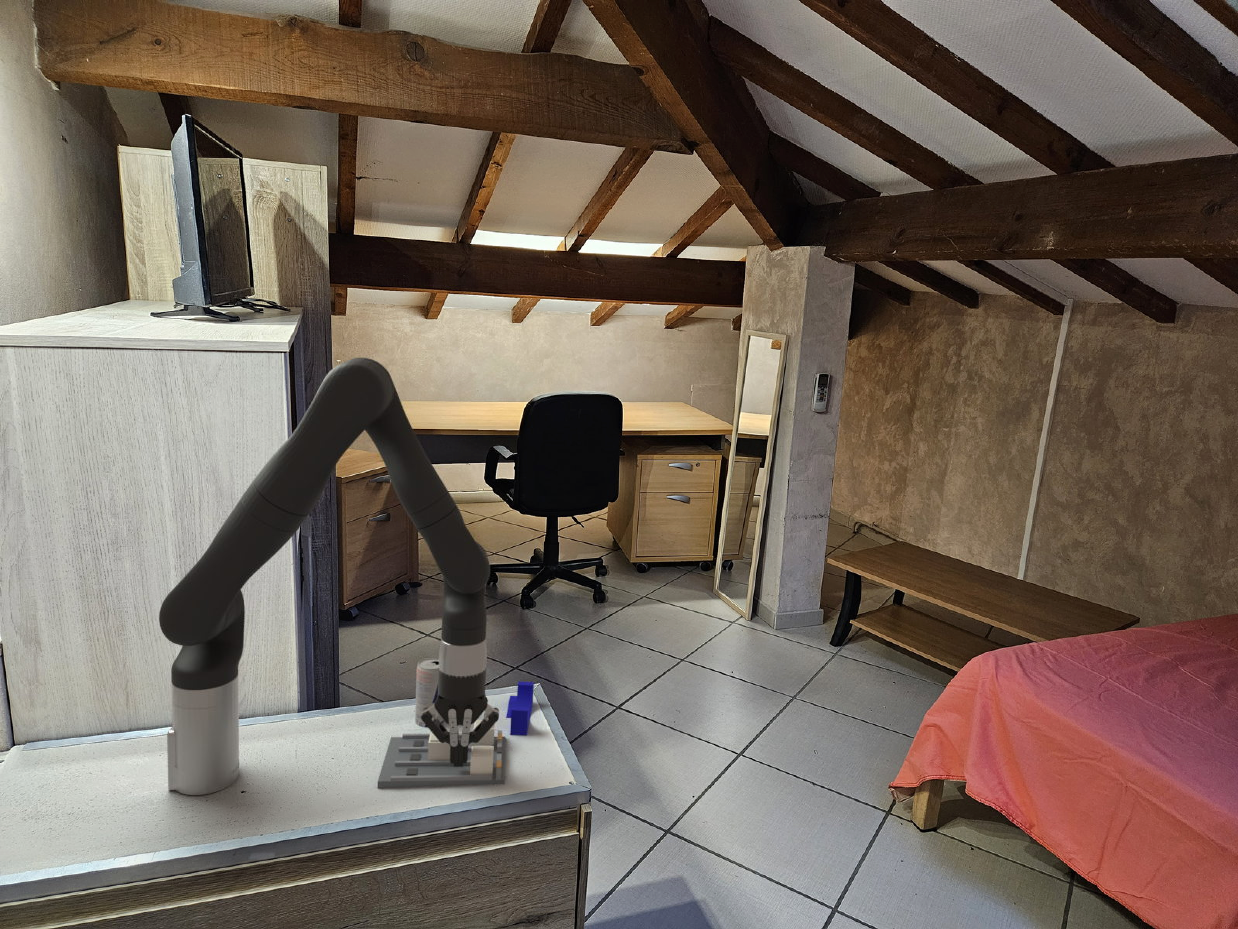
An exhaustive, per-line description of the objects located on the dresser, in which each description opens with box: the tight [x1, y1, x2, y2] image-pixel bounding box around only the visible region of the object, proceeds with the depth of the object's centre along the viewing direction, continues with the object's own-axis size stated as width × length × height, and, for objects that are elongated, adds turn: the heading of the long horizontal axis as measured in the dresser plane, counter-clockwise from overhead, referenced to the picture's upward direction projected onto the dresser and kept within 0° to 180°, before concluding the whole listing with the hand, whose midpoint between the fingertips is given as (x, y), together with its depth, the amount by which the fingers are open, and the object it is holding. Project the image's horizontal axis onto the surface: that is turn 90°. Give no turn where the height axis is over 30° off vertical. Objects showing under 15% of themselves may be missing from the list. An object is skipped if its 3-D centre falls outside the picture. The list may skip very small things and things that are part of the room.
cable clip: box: [505, 681, 535, 737], centre depth 147 cm, size 12×4×6 cm, turn 1°
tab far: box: [473, 719, 496, 746], centre depth 137 cm, size 4×3×4 cm
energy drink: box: [414, 657, 445, 728], centre depth 144 cm, size 5×5×12 cm
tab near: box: [470, 746, 494, 775], centre depth 128 cm, size 4×3×4 cm
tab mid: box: [428, 732, 450, 761], centre depth 131 cm, size 4×3×4 cm
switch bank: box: [377, 729, 506, 789], centre depth 132 cm, size 20×14×3 cm
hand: (458, 764), depth 128 cm, fingers closed
